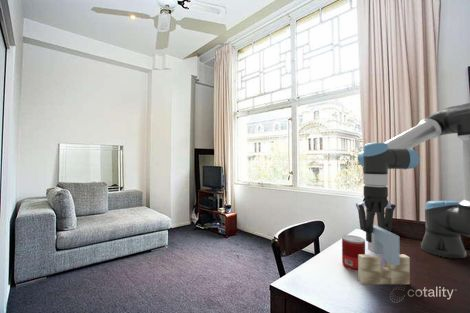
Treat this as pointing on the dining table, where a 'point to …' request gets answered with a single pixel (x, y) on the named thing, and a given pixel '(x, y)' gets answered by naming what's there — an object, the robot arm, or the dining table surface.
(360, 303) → the dining table surface
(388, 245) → the pale blue plate
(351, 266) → the canned food
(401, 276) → the birch plate
